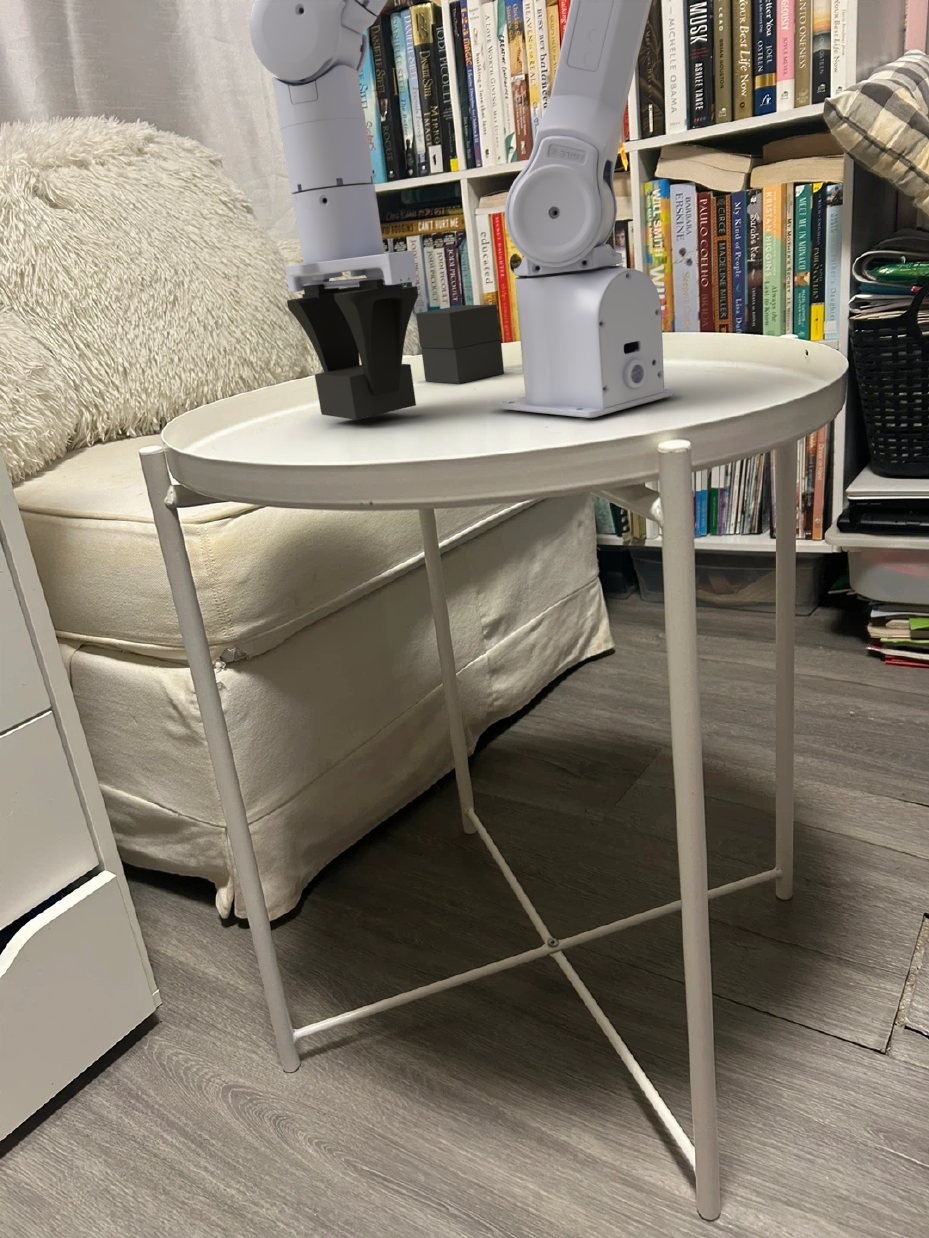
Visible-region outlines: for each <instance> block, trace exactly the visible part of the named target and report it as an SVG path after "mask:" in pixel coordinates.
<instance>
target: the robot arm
mask: <svg viewBox="0 0 929 1238" xmlns="http://www.w3.org/2000/svg"><path fill="white" fill-rule="evenodd" d="M652 1H653V0H570V3H569V8H568V12H567V17H566V22H565V27H564V32H563V37H562V41H561V45H560V50H559V55H558V58H557V59H558V60H557V65H556V69H555V74H554V79H553V83H552V87H551V92H550V97H549V100H548V102H547V105H546V107H545V109H544V113H542V114H543V115H542V117H541V120H540V122H539V124H538V126H537V130H536V133H535V138H534V142H533V147H532V150H531V153H530V156H529V158H528V161H526V162H527V163H526V164H525V166H524V168H523V169H522V170H521V171H520V172H519V174H518V175H517V176H516V178H515V179H514V180H513V183H512V184H511V186H510V188H509V191H508V194H507V196H506V200H505V205H504V220H505V227H506V230H507V234H508V236H509V239H510V241H511V243H512V244H513V246H514V248H515V249H516V250H517V251H518V252H519V253H520V255H522V256H523V257H522V259H521V263H520V264H519V266H518V267H516V268H514V269H513V275H514V276H516V277H515V278H514V284H515V296H516V306H517V307H516V309H517V317H518V329H519V341H520V351H521V363H522V372H523V374H522V375H523V384H524V396H519V397H516V398H512V399H508V400H504V401H501V402H500V403H499V406H500V409H501V410H509V411H516V412H517V411H519V412H528V413H538V414H548V415H557V416H566V417H567V416H568V417H578V418H588V419H592V418H597V417H600V416H604V415H608V414H612V413H615V412H618V411H622V410H627V409H630V408H633V407H636V406H640V405H643V404H644V405H645V404H648V403H650V402H655V401H658V400H662V399H665V398H668V397H672V396H673V389H672V388H665V370H664V347H663V345H664V343H663V341H664V340H663V317H662V315H663V314H662V302H661V298H660V295H659V291H658V289H657V287H656V285H655V283H654V281H653V280H652V278H651V277H650V276H649V275H648V274H646V273H645V272H643V271H642V270H638V269H635V268H627V267H625V266H623V265H621V264H622V263H623V254H622V252H618V251H616V250H615V249H614V248H613V247H612V245H611V244H609V243H606V242H607V241H608V240H609V238H610V237H611V235H612V233H613V231H614V228H615V226H616V222H617V216H618V215H617V214H618V202H617V197H616V193H615V188H614V186H615V185H614V173H615V168H616V164H617V160H618V154H619V150H620V142H621V136H622V135H621V134H622V127H623V121H624V116H625V112H626V107H627V103H628V100H629V95H630V91H631V87H632V83H633V79H634V75H635V70H636V67H637V63H638V58H639V54H640V51H641V46H642V42H643V38H644V33H645V30H646V25H647V23H648V22H647V21H648V17H649V14H650V10H651V6H652ZM387 2H388V0H254V2H253V4H252V7H251V11H250V17H249V35H250V42H251V44H252V48H253V51H254V52H255V55H256V56H257V59H258V60H259V61H260V63H261V64H262V65H263V67H264V68H266V70H267V71H269V73H271V74H272V75H274V76H275V77H274V76H272V78H271V80H272V86H273V92H274V99H275V103H276V109H277V115H278V125H279V131H280V135H281V136H280V137H281V141H282V146H283V147H282V148H283V152H284V158H285V164H286V170H287V177H288V182H289V188H290V193H291V199H292V204H293V210H294V217H295V222H296V223H295V224H296V227H297V233H298V241H299V245H300V251H301V257H302V263H297V264H290V265H284V270H285V276H286V283H287V287H288V292H289V293H297V292H303V293H302V294H301V296H302V297H298V298H292V299H287V300H286V304H287V309H288V311H289V312H290V313H291V314H292V315H293V316H294V318H295V319H296V320H297V322H298V323H299V324H300V326H301V327H302V329H303V331H304V333H305V334H306V336H307V338H308V339H309V341H310V343H311V345H312V347H313V349H314V352H315V353H316V356H317V358H318V361H319V363H320V366H321V368H322V370H323V373H324V372H329V371H334V370H339V369H344V368H349V367H354V366H359V365H362V368H363V372H364V375H365V379H366V382H367V384H368V387H369V390H370V392H371V394H372V395H375V396H377V395H382V394H386V393H391V392H395V391H399V388H400V379H401V368H402V364H403V358H404V357H403V356H404V349H405V348H404V347H405V340H406V335H407V331H408V326H409V323H410V319H411V316H412V313H413V311H414V307H415V305H416V303H417V301H418V298H419V289H418V286H417V285H412V286H411V285H410V286H402V285H401V284H407V283H414V282H417V281H418V276H417V268H416V262H415V261H416V259H415V253H414V250H413V249H412V250H411V249H410V250H403V251H395V252H385V249H384V241H383V234H382V227H381V220H380V212H379V206H378V198H377V191H376V185H375V180H374V174H373V172H374V171H373V164H372V157H371V150H370V144H369V143H370V142H369V137H368V130H367V129H368V128H367V122H366V115H365V114H366V113H365V110H364V108H363V100H362V94H361V87H360V81H359V78H360V77H359V76H360V75H361V72H362V71H363V68H364V66H365V62H366V59H367V54H368V37H367V34H364V32H365V31H366V30H368V28H369V27H371V26H372V25H374V23H375V22H376V20H377V19H378V16H379V15H380V14H381V12H382V10H383V9H384V7H385V5H386V4H387ZM347 272H349V273H350V277H351V278H349V279H337V280H336V279H335V278H342V277H344V274H343V273H347ZM363 276H365V277H363ZM356 277H357V278H356ZM358 277H359V278H358ZM330 279H335V280H330Z"/></svg>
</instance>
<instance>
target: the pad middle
mask: <svg viewBox="0 0 929 1238" xmlns="http://www.w3.org/2000/svg"><path fill="white" fill-rule="evenodd" d="M415 317H416V325H417V332H418V333H417V334H418V340H419V348H420V349H421V348H446V349H455V348H460V347H465V346H470V345H475V344H480V343H485V342H490V341H495V340H499V339H500V340H501V334H500V325H499V314H498V305H497V304H463V305H456V306H449V307H444V308H438V309H432V310H427V311H421V312H416V313H415Z"/></svg>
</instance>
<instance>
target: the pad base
mask: <svg viewBox="0 0 929 1238" xmlns="http://www.w3.org/2000/svg"><path fill="white" fill-rule="evenodd" d="M420 349H421V357H422V365H423V373H424V380H425V382H431V383H446V384H456V385H457V384H458V385H459V384H464V383H469V382H473V381H477V380H481V379H482V380H483V379H485V378H491V377H496V376H498V375H503V374H504V373H505V367H504V357H503V356H504V355H503V347H502V339H501V338H500V339H499V340H495V341H490V342H485V343H480V344H475V345H470V346H465V347H460V348H455V349H446V348H421V347H420Z"/></svg>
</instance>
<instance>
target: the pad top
mask: <svg viewBox="0 0 929 1238" xmlns="http://www.w3.org/2000/svg"><path fill="white" fill-rule="evenodd" d="M413 379H414V378H413V373H412V365H411V364H410V363H402V368H401V379H400V388H399V391H395V392H391V393H386V394H382V395H377V396H375V395H372V394H371V392H370V390H369V387H368V384H367V382H366V379H365V375H364V372H363V368H362V364H360V365H359V366H354V367H349V368H344V369H339V370H334V371H329V372H324V371H323V372H319V373H315V374H314V380H315V385H316V386H315V387H316V390H317V397H318V402H319V408H320V413H321V415H322V416H327V417H328V416H329V417H334V418H335V417H336V418H341V419H349V420H355V421H356V420H361V419H365V418H369V417H375V416H378V415H382V414H387V413H391V412H394V411H400V410H403V409H407V408H411V407H415V406H417V401H416V395H415V394H416V393H415V387H414V380H413Z"/></svg>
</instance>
